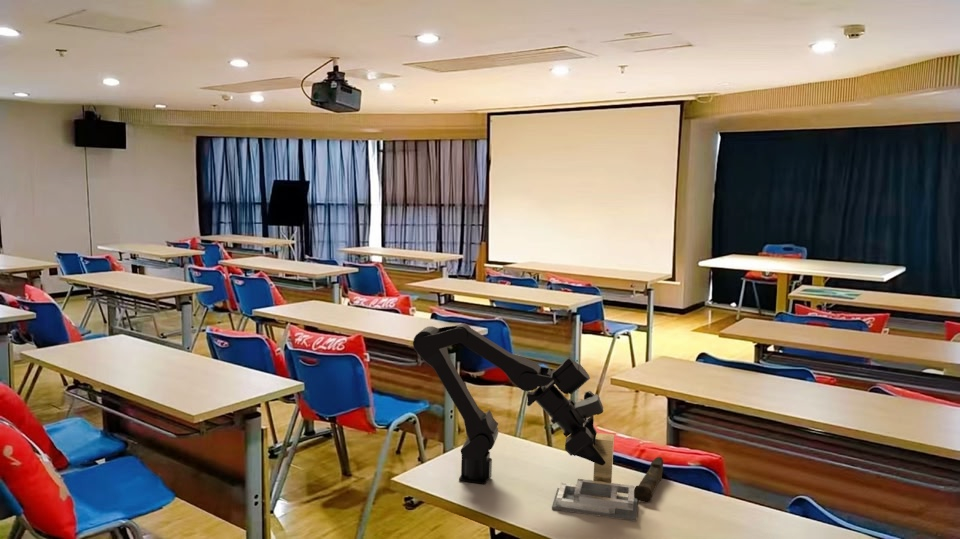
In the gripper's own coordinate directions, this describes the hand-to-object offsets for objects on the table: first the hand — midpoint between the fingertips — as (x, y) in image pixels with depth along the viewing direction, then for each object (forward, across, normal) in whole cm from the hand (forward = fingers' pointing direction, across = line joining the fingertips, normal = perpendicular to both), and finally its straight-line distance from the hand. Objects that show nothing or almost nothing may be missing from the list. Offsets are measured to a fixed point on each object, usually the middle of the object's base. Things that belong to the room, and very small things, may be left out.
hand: (604, 456), depth 154 cm
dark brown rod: (+14, +5, -2) cm, 15 cm away
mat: (+5, -8, +7) cm, 11 cm away
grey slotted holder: (+5, -8, +7) cm, 11 cm away
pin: (+6, 0, +6) cm, 8 cm away
